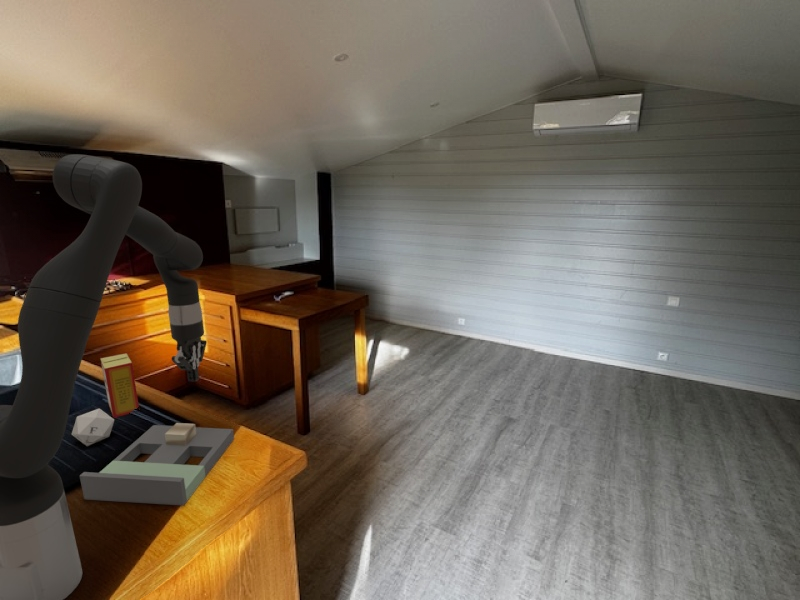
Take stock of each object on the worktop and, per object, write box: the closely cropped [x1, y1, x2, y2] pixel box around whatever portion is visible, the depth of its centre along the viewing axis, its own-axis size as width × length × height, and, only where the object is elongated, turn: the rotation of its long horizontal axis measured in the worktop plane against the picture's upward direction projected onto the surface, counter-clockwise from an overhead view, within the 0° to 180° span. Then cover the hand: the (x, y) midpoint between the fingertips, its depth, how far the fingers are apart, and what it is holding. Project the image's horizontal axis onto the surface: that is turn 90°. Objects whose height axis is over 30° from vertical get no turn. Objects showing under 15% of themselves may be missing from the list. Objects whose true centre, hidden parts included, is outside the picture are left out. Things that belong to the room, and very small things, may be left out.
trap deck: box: [79, 424, 235, 506], centre depth 97 cm, size 24×22×6 cm
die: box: [71, 408, 115, 447], centre depth 106 cm, size 8×9×10 cm
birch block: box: [165, 422, 197, 446], centre depth 103 cm, size 5×5×3 cm
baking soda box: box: [99, 352, 140, 419], centre depth 121 cm, size 10×6×16 cm
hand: (193, 380), depth 108 cm, fingers closed
